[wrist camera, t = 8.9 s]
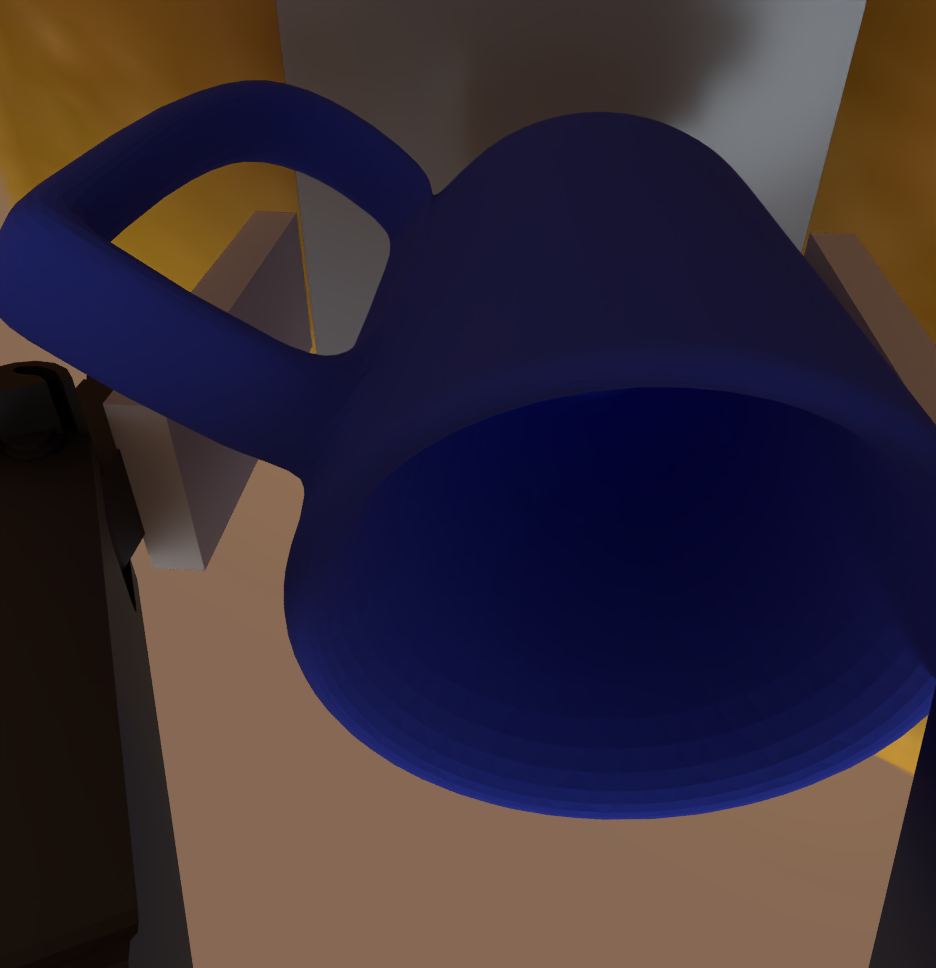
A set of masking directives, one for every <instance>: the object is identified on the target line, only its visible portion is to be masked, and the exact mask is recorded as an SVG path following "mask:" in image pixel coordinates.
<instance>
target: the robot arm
mask: <svg viewBox="0 0 936 968" xmlns="http://www.w3.org/2000/svg"><path fill="white" fill-rule="evenodd" d="M804 258H805V259H806V260H807V261H808V263H809V264H810V265H811V266H812V268H813V269H814V270H815V272H816V273H817V274H818V275H819V277H820V278H821V279H822V280H823V282H824V283H825V284H826V286H827V287H828V288H829V289H830V291H831V292H832V293H833V294H834V296H835V297H836V298H837V300H838V301H839V302H840V303H841V305H842V306H843V307H844V308H845V310H846V311H847V312H848V314H849V315H850V316H851V317H852V319H853V320H854V321H855V323H856V324H857V325H858V326H859V328H860V329H861V330H862V331H863V333H864V334H865V335H866V337H867V338H868V339H869V340H870V342H871V343H872V344H873V345H874V347H875V348H876V349H877V351H878V352H879V353H880V354H881V356H882V357H883V358H884V359H885V361H886V362H887V363H888V365H889V366H890V367H891V368H892V370H893V371H894V372H895V373H896V375H897V376H898V377H899V379H900V380H901V381H902V382H903V384H904V385H905V386H906V387H907V389H908V390H909V391H910V393H911V394H912V395H913V396H914V398H915V399H916V400H917V401H918V403H919V404H920V405H921V407H922V408H923V409H924V410H925V412H926V413H927V414H928V415H929V417H930V418H931V419H932V421H933V422H934V423H935V424H936V345H935V344H934V343H933V341H932V340H931V339H930V337H929V336H928V334H927V333H926V332H925V330H924V329H923V327H922V326H921V325H920V323H919V322H918V321H917V319H916V318H915V316H914V315H913V314H912V312H911V311H910V310H909V308H908V307H907V305H906V304H905V303H904V301H903V300H902V299H901V297H900V296H899V294H898V293H897V292H896V290H895V289H894V288H893V286H892V285H891V283H890V282H889V281H888V279H887V278H886V277H885V275H884V274H883V272H882V271H881V270H880V268H879V267H878V266H877V264H876V263H875V261H874V260H873V259H872V257H871V256H870V254H869V253H868V252H867V250H866V249H865V248H864V246H863V245H862V243H861V242H860V241H859V239H858V238H857V237H856V235H855V234H840V233H814V232H810V236H809V239H808V243H807V247H806V251H805V255H804ZM191 293H192V294H194V295H196V296H198V297H200V298H202V299H203V300H205V301H207V302H209V303H211V304H213V305H214V306H216V307H218V308H220V309H222V310H223V311H225V312H227V313H229V314H231V315H233V316H234V317H236V318H238V319H240V320H242V321H244V322H245V323H247V324H249V325H251V326H253V327H255V328H256V329H258V330H260V331H262V332H264V333H265V334H267V335H269V336H271V337H273V338H275V339H276V340H278V341H280V342H283V343H285V344H287V345H289V346H292V347H295V348H297V349H300V350H303V351H306V352H310V350H311V348H312V339H311V331H310V323H309V314H308V306H307V297H306V289H305V281H304V272H303V264H302V255H301V247H300V238H299V230H298V222H297V213H290V212H264V211H255V213H254V214H253V215H252V216H251V218H250V219H249V220H248V221H247V223H246V224H245V225H244V226H243V228H242V229H241V230H240V232H239V233H238V234H237V235H236V237H235V238H234V239H233V240H232V242H231V243H230V244H229V245H228V247H227V248H226V249H225V250H224V252H223V253H222V254H221V255H220V257H219V258H218V259H217V260H216V262H215V263H214V264H213V265H212V267H211V268H210V269H209V271H208V272H207V273H206V274H205V276H204V277H203V278H202V279H201V281H200V282H199V283H198V284H197V286H196V287H195V288H194V289H193V291H192V292H191ZM257 461H258V459H257V458H254V457H251V456H248V455H245V454H243V453H240V452H238V451H235V450H233V449H231V448H228V447H226V446H223V445H221V444H219V443H217V442H215V441H213V440H211V439H209V438H207V437H205V436H203V435H201V434H199V433H197V432H195V431H193V430H191V429H189V428H187V427H185V426H183V425H181V424H179V423H177V422H175V421H173V420H171V419H169V418H167V417H165V416H163V415H161V414H159V413H157V412H155V411H153V410H151V409H149V408H147V407H145V406H143V405H141V404H139V403H137V402H135V401H133V400H131V399H129V398H127V397H125V396H123V395H122V394H120V393H118V392H116V391H114V390H112V389H111V388H109V387H107V386H106V385H104V384H102V383H100V382H99V381H97V380H95V379H93V378H92V377H90V376H88V375H87V379H86V380H85V379H84V380H83V381H82V382H81V383H80V384H79V385H78V386H77V387H76V388H75V385H74V382H73V379H72V377H71V375H70V373H69V372H68V370H67V369H66V368H64V367H62V366H60V365H58V364H56V363H50V362H42V361H28V362H17V363H11V364H7V365H3V366H0V968H193V964H192V957H191V950H190V943H189V936H188V929H187V923H186V915H185V908H184V902H183V895H182V887H181V880H180V874H179V867H178V860H177V853H176V846H175V839H174V832H173V825H172V818H171V811H170V804H169V797H168V791H167V783H166V776H165V769H164V762H163V756H162V749H161V742H160V735H159V729H158V721H157V715H156V707H155V700H154V693H153V687H152V679H151V673H150V665H149V658H148V651H147V645H146V638H145V631H144V624H143V617H142V610H141V604H140V596H139V589H138V582H137V578H136V575H135V572H134V569H133V565H132V562H131V557H132V555H133V554H134V552H135V550H136V548H137V547H138V545H139V543H140V542H141V540H142V538H144V541H145V545H146V548H147V551H148V554H149V557H150V561H151V564H152V567H154V568H169V569H184V570H200V571H205V569H206V567H207V565H208V563H209V561H210V559H211V557H212V555H213V553H214V551H215V548H216V546H217V544H218V542H219V540H220V538H221V536H222V534H223V532H224V530H225V528H226V525H227V523H228V521H229V519H230V517H231V515H232V513H233V510H234V509H235V507H236V505H237V502H238V500H239V498H240V496H241V494H242V492H243V490H244V488H245V486H246V484H247V482H248V479H249V477H250V475H251V473H252V471H253V469H254V467H255V465H256V463H257ZM869 968H936V686H935V690H934V694H933V698H932V703H931V707H930V711H929V715H928V720H927V724H926V728H925V732H924V736H923V741H922V745H921V749H920V753H919V757H918V762H917V766H916V770H915V774H914V779H913V783H912V787H911V791H910V796H909V800H908V804H907V808H906V813H905V817H904V821H903V825H902V829H901V833H900V838H899V842H898V846H897V850H896V854H895V859H894V863H893V867H892V871H891V876H890V880H889V884H888V888H887V893H886V897H885V901H884V905H883V909H882V914H881V918H880V922H879V926H878V931H877V935H876V939H875V943H874V948H873V951H872V956H871V960H870V964H869Z"/></svg>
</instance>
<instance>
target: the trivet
mask: <svg viewBox="0 0 936 968" xmlns="http://www.w3.org/2000/svg"><path fill="white" fill-rule="evenodd" d="M866 1H867V0H276V7H277V16H278V25H279V33H280V42H281V50H282V59H283V68H284V76H285V84H290V85H293V86H296V87H299V88H302V89H306V90H309V91H311V92H314V93H316V94H318V95H320V96H323V97H325V98H327V99H330V100H331V101H333V102H335V103H337V104H339V105H341V106H342V107H344V108H346V109H348V110H350V111H351V112H353V113H354V114H356V115H357V116H359V117H360V118H362V119H364V120H365V121H367V122H368V123H370V124H371V125H373V126H374V127H376V128H377V129H378V130H379V131H381V132H382V133H383V134H385V135H386V136H387V137H388V138H390V139H391V140H392V141H394V142H395V143H396V144H397V145H399V146H400V147H401V148H402V149H403V150H404V151H405V152H406V153H407V154H408V155H409V156H411V157H412V158H413V159H414V160H415V161H416V162H417V164H418V165H419V166H420V167H421V168H422V170H423V171H424V172H425V173H426V175H427V177H428V179H429V181H430V184H431V188H432V193H433V195H436V194H438V193H439V192H441V191H442V190H443V189H444V188H445V187H446V186H447V185H448V184H449V183H450V182H451V181H452V180H453V179H454V178H455V177H456V176H457V175H458V174H459V173H460V172H461V171H462V170H463V169H465V168H466V167H467V166H468V165H469V164H470V163H471V162H472V161H473V160H474V159H476V158H477V157H478V156H479V155H480V154H481V153H483V152H484V151H485V150H486V149H487V148H489V147H490V146H492V145H493V144H495V143H496V142H498V141H499V140H501V139H502V138H504V137H506V136H507V135H509V134H511V133H513V132H515V131H517V130H519V129H521V128H523V127H526V126H529V125H531V124H534V123H537V122H539V121H542V120H546V119H550V118H554V117H558V116H562V115H569V114H575V113H583V112H613V113H626V114H631V115H636V116H641V117H646V118H649V119H653V120H656V121H660V122H662V123H665V124H667V125H670V126H672V127H675V128H677V129H679V130H681V131H683V132H685V133H686V134H688V135H690V136H692V137H694V138H696V139H697V140H699V141H701V142H702V143H703V144H705V145H706V146H708V147H709V148H711V149H712V150H713V151H715V152H716V153H717V154H718V155H719V156H721V157H722V158H723V159H724V160H725V161H726V162H727V163H728V164H729V165H730V166H731V167H732V168H733V169H734V170H735V171H736V172H737V174H738V175H739V176H740V177H741V178H742V179H743V180H744V182H745V183H746V184H747V185H748V186H749V188H750V189H751V190H752V191H753V193H754V194H755V195H756V196H757V198H758V199H759V200H760V202H761V203H762V204H763V205H764V207H765V208H766V209H767V210H768V212H769V213H770V214H771V216H772V217H773V218H774V219H775V221H776V222H777V223H778V224H779V226H780V227H781V228H782V230H783V231H784V232H785V233H786V235H787V236H788V237H789V238H790V240H791V241H792V242H793V244H794V245H795V246H796V247H797V249H798V250H799V251H800V252H802V248H803V244H804V240H805V236H806V232H807V228H808V225H809V221H810V217H811V213H812V209H813V205H814V201H815V198H816V194H817V190H818V186H819V182H820V178H821V174H822V171H823V167H824V163H825V159H826V155H827V151H828V147H829V144H830V140H831V136H832V132H833V128H834V124H835V120H836V117H837V113H838V109H839V105H840V101H841V97H842V93H843V90H844V86H845V82H846V78H847V74H848V70H849V66H850V63H851V59H852V55H853V51H854V47H855V43H856V39H857V36H858V32H859V28H860V24H861V20H862V16H863V13H864V9H865V5H866ZM295 171H296V170H295ZM296 179H297V188H298V197H299V205H300V214H301V222H302V231H303V240H304V248H305V257H306V265H307V274H308V283H309V291H310V300H311V308H312V317H313V326H314V334H315V343H316V351H317V354H318V355H337V354H340V353H343V352H346V351H348V350H350V349H351V348H353V347H354V345H355V343H356V340H357V338H358V336H359V333H360V331H361V329H362V326H363V324H364V322H365V319H366V317H367V314H368V312H369V309H370V307H371V304H372V302H373V299H374V296H375V294H376V291H377V288H378V286H379V283H380V281H381V278H382V275H383V273H384V270H385V267H386V264H387V261H388V258H389V254H390V240H389V237H388V234H387V233H386V231H385V230H384V229H383V228H382V226H381V225H380V224H379V223H378V222H377V221H376V220H375V219H374V218H373V217H372V216H371V215H369V214H368V213H367V212H365V211H364V210H363V209H361V208H360V207H359V206H357V205H356V204H355V203H353V202H352V201H351V200H349V199H348V198H347V197H345V196H344V195H342V194H341V193H339V192H338V191H336V190H335V189H333V188H331V187H329V186H328V185H326V184H324V183H322V182H320V181H319V180H317V179H314V178H312V177H310V176H308V175H306V174H303V173H301V172H298V171H296Z"/></svg>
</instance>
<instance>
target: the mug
mask: <svg viewBox="0 0 936 968" xmlns="http://www.w3.org/2000/svg"><path fill="white" fill-rule="evenodd" d="M239 162H265V163H270V164H275V165H280V166H284V167H287V168H290V169H293V170H296V171H298V172H301V173H303V174H306V175H308V176H310V177H312V178H314V179H317V180H319V181H320V182H322V183H324V184H326V185H328V186H329V187H331V188H333V189H335V190H336V191H338V192H339V193H341V194H342V195H344V196H345V197H347V198H348V199H349V200H351V201H352V202H353V203H355V204H356V205H357V206H359V207H360V208H361V209H363V210H364V211H365V212H367V213H368V214H369V215H371V216H372V217H373V218H374V219H375V220H376V221H377V222H378V223H379V224H380V225H381V226H382V228H383V229H384V230H385V231H386V233H387V234H388V237H389V240H390V254H389V258H388V261H387V264H386V267H385V270H384V273H383V275H382V278H381V281H380V283H379V286H378V288H377V291H376V294H375V296H374V299H373V302H372V304H371V307H370V309H369V312H368V314H367V317H366V319H365V322H364V324H363V326H362V329H361V331H360V333H359V336H358V338H357V340H356V343H355V345H354V347H353V348H351V349H350V350H348V351H346V352H343V353H340V354H337V355H318V354H312V353H309V352H306V351H303V350H300V349H297V348H295V347H292V346H289V345H287V344H285V343H283V342H280V341H278V340H276V339H275V338H273V337H271V336H269V335H267V334H265V333H264V332H262V331H260V330H258V329H256V328H255V327H253V326H251V325H249V324H247V323H245V322H244V321H242V320H240V319H238V318H236V317H234V316H233V315H231V314H229V313H227V312H225V311H223V310H222V309H220V308H218V307H216V306H214V305H213V304H211V303H209V302H207V301H205V300H203V299H202V298H200V297H198V296H196V295H194V294H192V293H191V292H189V291H187V290H185V289H184V288H182V287H181V286H179V285H178V284H176V283H174V282H173V281H171V280H170V279H168V278H166V277H165V276H163V275H162V274H160V273H158V272H157V271H155V270H154V269H152V268H151V267H149V266H147V265H146V264H144V263H143V262H141V261H139V260H138V259H136V258H135V257H133V256H131V255H130V254H128V253H127V252H125V251H124V250H122V249H120V248H119V247H117V246H116V245H114V244H112V243H111V241H112V240H113V239H114V238H115V237H116V236H117V235H119V234H120V233H121V232H122V231H123V230H124V229H125V228H126V227H128V226H129V225H130V224H131V223H133V222H134V221H135V220H137V219H138V218H139V217H140V216H142V215H143V214H144V213H145V212H147V211H148V210H149V209H150V208H152V207H153V206H154V205H155V204H157V203H158V202H159V201H160V200H162V199H163V198H164V197H166V196H167V195H169V194H170V193H172V192H174V191H175V190H177V189H178V188H180V187H181V186H183V185H185V184H186V183H188V182H189V181H191V180H193V179H195V178H197V177H199V176H201V175H203V174H205V173H207V172H209V171H211V170H214V169H217V168H220V167H223V166H226V165H229V164H232V163H239ZM0 318H1V319H2V320H3V321H4V322H5V323H6V324H7V325H8V326H9V327H10V328H11V329H13V330H14V331H16V332H17V333H19V334H20V335H21V336H23V337H25V338H26V339H27V340H28V341H30V342H32V343H34V344H36V345H37V346H39V347H40V348H42V349H44V350H45V351H47V352H49V353H51V354H53V355H54V356H56V357H58V358H59V359H61V360H62V361H64V362H66V363H68V364H70V365H71V366H73V367H75V368H76V369H78V370H80V371H81V372H83V373H85V374H87V375H88V376H90V377H92V378H93V379H95V380H97V381H99V382H100V383H102V384H104V385H106V386H107V387H109V388H111V389H112V390H114V391H116V392H118V393H120V394H122V395H123V396H125V397H127V398H129V399H131V400H133V401H135V402H137V403H139V404H141V405H143V406H145V407H147V408H149V409H151V410H153V411H155V412H157V413H159V414H161V415H163V416H165V417H167V418H169V419H171V420H173V421H175V422H177V423H179V424H181V425H183V426H185V427H187V428H189V429H191V430H193V431H195V432H197V433H199V434H201V435H203V436H205V437H207V438H209V439H211V440H213V441H215V442H217V443H219V444H221V445H223V446H226V447H228V448H231V449H233V450H235V451H238V452H240V453H243V454H245V455H248V456H251V457H254V458H257V459H260V460H263V461H266V462H268V463H271V464H273V465H276V466H278V467H281V468H283V469H286V470H288V471H290V472H291V473H292V474H294V475H295V476H297V477H298V478H300V479H301V481H302V484H303V486H304V500H303V505H302V511H301V516H300V520H299V523H298V526H297V529H296V532H295V535H294V538H293V541H292V544H291V549H290V553H289V557H288V561H287V566H286V571H285V580H284V610H285V618H286V624H287V630H288V636H289V639H290V642H291V645H292V649H293V652H294V655H295V657H296V659H297V661H298V663H299V666H300V668H301V670H302V672H303V674H304V676H305V678H306V680H307V681H308V683H309V684H310V686H311V688H312V689H313V691H314V693H315V694H316V695H317V697H318V698H319V699H320V701H321V702H322V703H323V705H324V706H325V707H326V708H327V710H328V711H329V712H330V713H331V714H332V715H333V716H334V717H335V718H336V719H337V720H338V721H339V722H340V723H341V724H342V725H343V726H344V727H345V728H346V729H347V730H348V731H349V732H350V733H351V734H352V735H353V736H355V737H356V738H357V739H358V740H360V741H361V742H362V743H364V744H365V745H366V746H368V747H369V748H370V749H372V750H373V751H374V752H376V753H377V754H379V755H380V756H382V757H384V758H385V759H387V760H388V761H390V762H391V763H393V764H394V765H396V766H398V767H400V768H402V769H404V770H406V771H407V772H409V773H411V774H414V775H415V776H417V777H419V778H421V779H423V780H426V781H428V782H430V783H433V784H435V785H438V786H440V787H443V788H445V789H448V790H450V791H453V792H455V793H458V794H460V795H464V796H467V797H470V798H474V799H477V800H480V801H484V802H487V803H491V804H495V805H499V806H503V807H507V808H511V809H517V810H522V811H528V812H534V813H540V814H546V815H553V816H563V817H573V818H587V819H656V818H667V817H677V816H686V815H696V814H703V813H709V812H713V811H719V810H723V809H729V808H734V807H739V806H744V805H748V804H752V803H756V802H759V801H763V800H767V799H770V798H774V797H777V796H780V795H784V794H787V793H790V792H793V791H795V790H798V789H801V788H804V787H807V786H809V785H812V784H814V783H816V782H818V781H821V780H823V779H825V778H827V777H830V776H832V775H835V774H837V773H839V772H841V771H844V770H846V769H848V768H850V767H852V766H854V765H856V764H858V763H860V762H861V761H863V760H865V759H867V758H869V757H870V756H872V755H874V754H876V753H877V752H879V751H880V750H882V749H883V748H885V747H886V746H888V745H890V744H891V743H893V742H894V741H896V740H897V739H899V738H900V737H902V736H903V735H904V734H905V733H907V732H908V731H909V730H910V729H911V728H913V727H914V726H915V725H916V724H917V723H919V722H920V721H921V720H922V719H923V718H925V717H926V716H927V715H928V714H929V711H930V707H931V703H932V698H933V694H934V690H935V686H936V424H935V423H934V422H933V421H932V419H931V418H930V417H929V415H928V414H927V413H926V412H925V410H924V409H923V408H922V407H921V405H920V404H919V403H918V401H917V400H916V399H915V398H914V396H913V395H912V394H911V393H910V391H909V390H908V389H907V387H906V386H905V385H904V384H903V382H902V381H901V380H900V379H899V377H898V376H897V375H896V373H895V372H894V371H893V370H892V368H891V367H890V366H889V365H888V363H887V362H886V361H885V359H884V358H883V357H882V356H881V354H880V353H879V352H878V351H877V349H876V348H875V347H874V345H873V344H872V343H871V342H870V340H869V339H868V338H867V337H866V335H865V334H864V333H863V331H862V330H861V329H860V328H859V326H858V325H857V324H856V323H855V321H854V320H853V319H852V317H851V316H850V315H849V314H848V312H847V311H846V310H845V308H844V307H843V306H842V305H841V303H840V302H839V301H838V300H837V298H836V297H835V296H834V294H833V293H832V292H831V291H830V289H829V288H828V287H827V286H826V284H825V283H824V282H823V280H822V279H821V278H820V277H819V275H818V274H817V273H816V272H815V270H814V269H813V268H812V266H811V265H810V264H809V263H808V261H807V260H806V259H805V258H804V256H803V255H802V254H801V252H800V251H799V250H798V249H797V247H796V246H795V245H794V244H793V242H792V241H791V240H790V238H789V237H788V236H787V235H786V233H785V232H784V231H783V230H782V228H781V227H780V226H779V224H778V223H777V222H776V221H775V219H774V218H773V217H772V216H771V214H770V213H769V212H768V210H767V209H766V208H765V207H764V205H763V204H762V203H761V202H760V200H759V199H758V198H757V196H756V195H755V194H754V193H753V191H752V190H751V189H750V188H749V186H748V185H747V184H746V183H745V182H744V180H743V179H742V178H741V177H740V176H739V175H738V174H737V172H736V171H735V170H734V169H733V168H732V167H731V166H730V165H729V164H728V163H727V162H726V161H725V160H724V159H723V158H722V157H721V156H719V155H718V154H717V153H716V152H715V151H713V150H712V149H711V148H709V147H708V146H706V145H705V144H703V143H702V142H701V141H699V140H697V139H696V138H694V137H692V136H690V135H688V134H686V133H685V132H683V131H681V130H679V129H677V128H675V127H672V126H670V125H667V124H665V123H662V122H660V121H656V120H653V119H649V118H646V117H641V116H636V115H631V114H626V113H613V112H583V113H575V114H569V115H562V116H558V117H554V118H550V119H546V120H542V121H539V122H537V123H534V124H531V125H529V126H526V127H523V128H521V129H519V130H517V131H515V132H513V133H511V134H509V135H507V136H506V137H504V138H502V139H501V140H499V141H498V142H496V143H495V144H493V145H492V146H490V147H489V148H487V149H486V150H485V151H484V152H483V153H481V154H480V155H479V156H478V157H477V158H476V159H474V160H473V161H472V162H471V163H470V164H469V165H468V166H467V167H466V168H465V169H463V170H462V171H461V172H460V173H459V174H458V175H457V176H456V177H455V178H454V179H453V180H452V181H451V182H450V183H449V184H448V185H447V186H446V187H445V188H444V189H443V190H442V191H441V192H439V193H438V194H436V195H433V193H432V188H431V184H430V181H429V179H428V177H427V175H426V173H425V172H424V171H423V170H422V168H421V167H420V166H419V165H418V164H417V162H416V161H415V160H414V159H413V158H412V157H411V156H409V155H408V154H407V153H406V152H405V151H404V150H403V149H402V148H401V147H400V146H399V145H397V144H396V143H395V142H394V141H392V140H391V139H390V138H388V137H387V136H386V135H385V134H383V133H382V132H381V131H379V130H378V129H377V128H376V127H374V126H373V125H371V124H370V123H368V122H367V121H365V120H364V119H362V118H360V117H359V116H357V115H356V114H354V113H353V112H351V111H350V110H348V109H346V108H344V107H342V106H341V105H339V104H337V103H335V102H333V101H331V100H330V99H327V98H325V97H323V96H320V95H318V94H316V93H314V92H311V91H309V90H306V89H302V88H299V87H296V86H293V85H290V84H284V83H278V82H272V81H266V80H259V81H239V82H233V83H227V84H222V85H219V86H215V87H212V88H209V89H205V90H202V91H199V92H196V93H193V94H191V95H189V96H186V97H184V98H182V99H179V100H177V101H175V102H172V103H170V104H168V105H165V106H163V107H161V108H159V109H157V110H155V111H153V112H152V113H150V114H148V115H146V116H145V117H143V118H141V119H139V120H138V121H136V122H134V123H132V124H131V125H129V126H127V127H125V128H124V129H122V130H120V131H118V132H117V133H115V134H113V135H112V136H110V137H109V138H107V139H106V140H104V141H103V142H101V143H100V144H98V145H97V146H95V147H94V148H92V149H91V150H89V151H88V152H86V153H85V154H83V155H82V156H80V157H79V158H77V159H76V160H74V161H73V162H71V163H70V164H68V165H67V166H65V167H64V168H62V169H61V170H59V171H58V172H56V173H55V174H53V175H52V176H50V177H49V178H47V179H46V180H44V181H43V182H42V183H40V184H39V185H37V186H36V187H35V188H34V189H32V190H31V191H30V192H29V193H28V194H26V195H25V196H24V197H23V198H22V199H21V200H19V201H18V202H17V203H16V204H15V205H14V207H13V208H12V209H11V210H10V212H9V213H8V215H7V217H6V219H5V221H4V223H3V225H2V228H1V229H0Z"/></svg>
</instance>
